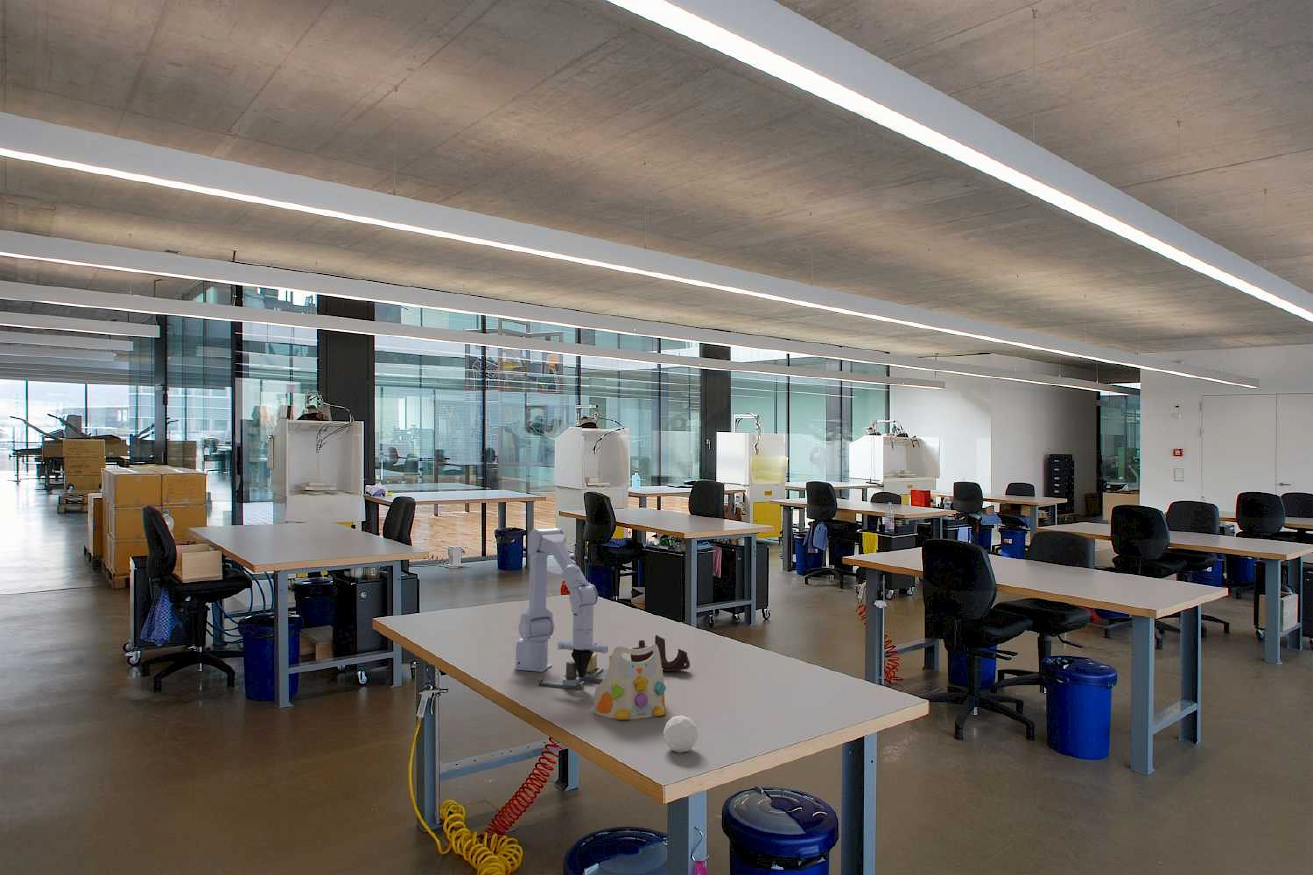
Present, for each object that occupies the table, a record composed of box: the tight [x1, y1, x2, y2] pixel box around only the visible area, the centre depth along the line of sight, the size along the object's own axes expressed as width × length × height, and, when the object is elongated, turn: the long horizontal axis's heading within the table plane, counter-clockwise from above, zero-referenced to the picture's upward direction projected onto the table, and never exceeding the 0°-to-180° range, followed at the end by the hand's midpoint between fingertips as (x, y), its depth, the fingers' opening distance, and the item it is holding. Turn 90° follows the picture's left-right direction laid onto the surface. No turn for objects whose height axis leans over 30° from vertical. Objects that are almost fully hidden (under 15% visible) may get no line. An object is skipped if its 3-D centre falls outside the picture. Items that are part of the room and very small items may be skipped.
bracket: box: [630, 634, 691, 672], centre depth 246 cm, size 6×18×11 cm, turn 72°
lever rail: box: [538, 677, 585, 690], centre depth 226 cm, size 13×2×2 cm, turn 75°
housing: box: [577, 652, 598, 674], centre depth 236 cm, size 4×4×7 cm
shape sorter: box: [592, 643, 667, 720], centre depth 204 cm, size 20×10×18 cm, turn 113°
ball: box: [662, 714, 699, 754], centre depth 179 cm, size 8×8×8 cm
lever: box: [562, 660, 581, 686], centre depth 225 cm, size 4×3×6 cm
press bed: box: [564, 654, 612, 684], centre depth 236 cm, size 14×10×7 cm
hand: (582, 676), depth 224 cm, fingers closed
